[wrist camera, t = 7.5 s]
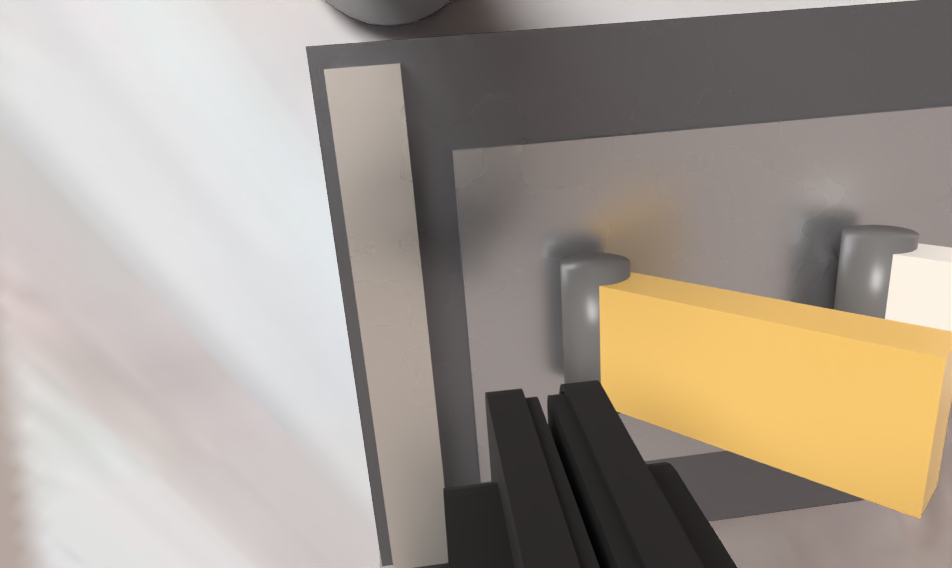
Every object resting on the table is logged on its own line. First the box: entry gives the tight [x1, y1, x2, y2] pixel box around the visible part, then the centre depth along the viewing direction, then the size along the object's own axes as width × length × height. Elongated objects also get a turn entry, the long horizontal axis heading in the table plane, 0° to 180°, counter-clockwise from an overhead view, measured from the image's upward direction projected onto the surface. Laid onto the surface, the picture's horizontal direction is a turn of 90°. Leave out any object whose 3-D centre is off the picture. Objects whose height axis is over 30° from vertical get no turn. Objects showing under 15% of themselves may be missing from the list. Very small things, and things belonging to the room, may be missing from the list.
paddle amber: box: [560, 253, 952, 519], centre depth 14 cm, size 2×4×8 cm
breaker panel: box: [306, 0, 952, 568], centre depth 19 cm, size 16×14×5 cm
